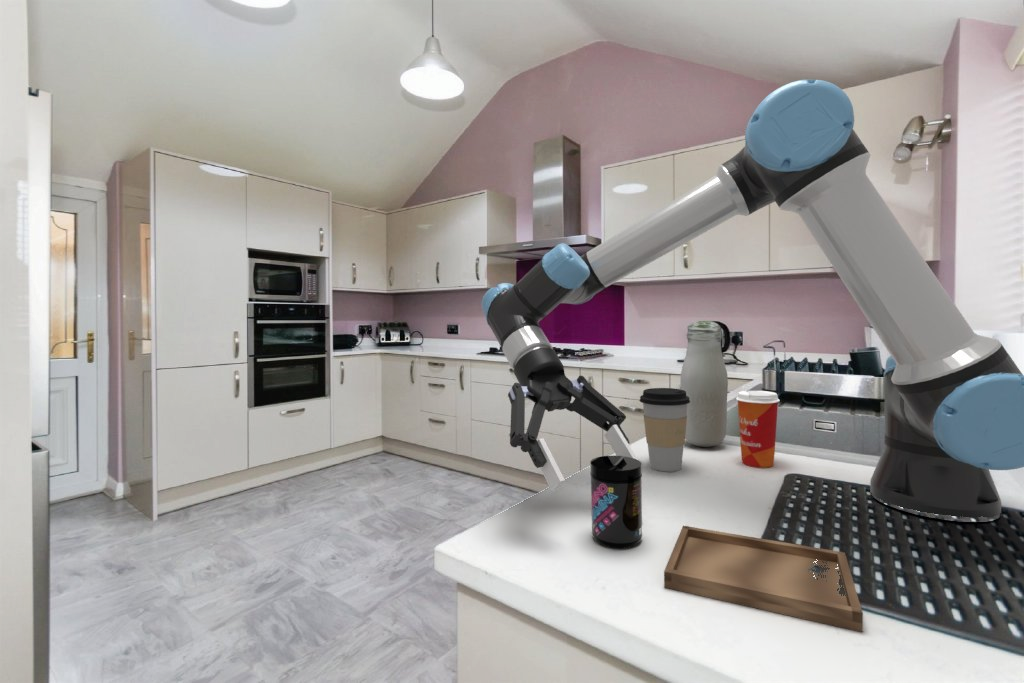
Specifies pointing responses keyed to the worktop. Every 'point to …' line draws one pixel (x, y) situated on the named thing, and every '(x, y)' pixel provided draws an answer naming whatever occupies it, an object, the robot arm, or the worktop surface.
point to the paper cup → (757, 427)
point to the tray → (764, 576)
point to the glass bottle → (705, 385)
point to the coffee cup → (665, 426)
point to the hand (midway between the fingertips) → (597, 476)
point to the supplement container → (616, 501)
